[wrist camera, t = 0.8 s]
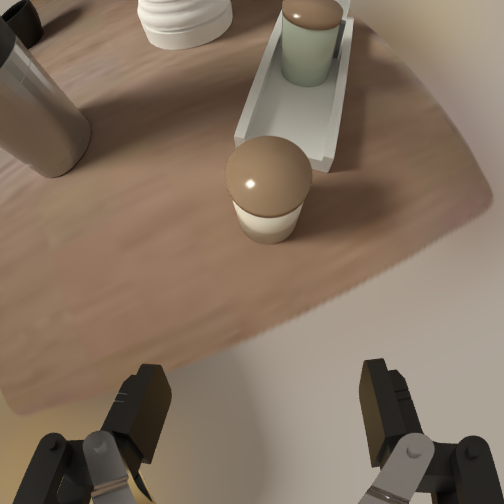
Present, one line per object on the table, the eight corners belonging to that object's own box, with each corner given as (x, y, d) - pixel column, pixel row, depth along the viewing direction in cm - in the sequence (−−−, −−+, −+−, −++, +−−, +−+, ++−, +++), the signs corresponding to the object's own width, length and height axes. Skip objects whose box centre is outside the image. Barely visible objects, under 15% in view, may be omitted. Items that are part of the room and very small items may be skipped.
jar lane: (327, 173, 31) (342, 137, 24) (236, 151, 32) (229, 112, 25) (349, 32, 35) (359, -4, 28) (283, 18, 36) (285, -19, 29)
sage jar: (270, 73, 32) (270, 8, 23) (295, 48, 33) (301, -13, 23) (314, 95, 32) (327, 30, 22) (337, 68, 32) (352, 6, 22)
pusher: (337, 58, 32) (345, 24, 26) (281, 46, 33) (282, 11, 27) (340, 37, 33) (348, 4, 27) (288, 26, 34) (290, -8, 28)
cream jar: (225, 223, 31) (207, 183, 21) (260, 177, 31) (257, 122, 21) (276, 257, 30) (281, 231, 20) (309, 208, 30) (327, 163, 21)
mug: (2, 58, 40) (-20, 34, 30) (45, 22, 40) (27, -6, 31) (4, 74, 38) (-21, 48, 29) (51, 34, 39) (30, 3, 30)
